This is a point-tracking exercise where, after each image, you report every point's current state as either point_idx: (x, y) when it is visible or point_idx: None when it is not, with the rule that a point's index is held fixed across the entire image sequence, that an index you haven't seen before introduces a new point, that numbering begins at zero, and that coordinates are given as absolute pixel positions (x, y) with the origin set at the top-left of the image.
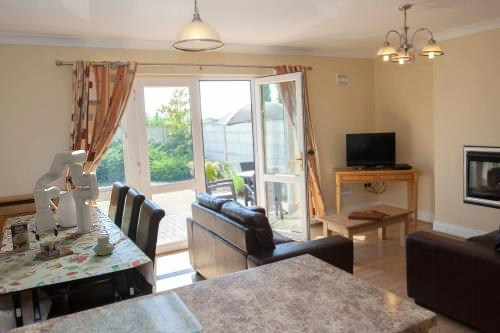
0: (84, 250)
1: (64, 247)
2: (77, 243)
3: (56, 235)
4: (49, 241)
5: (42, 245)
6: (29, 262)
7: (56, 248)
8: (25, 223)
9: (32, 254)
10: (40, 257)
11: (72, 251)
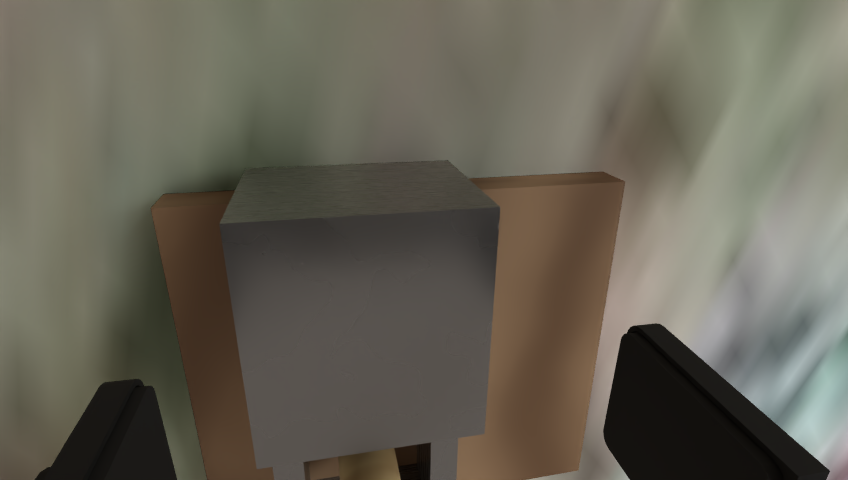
0: None
1: (597, 236)
2: (834, 33)
3: (627, 463)
4: (454, 222)
5: (250, 423)
6: (43, 435)
7: (445, 451)
8: None
9: (106, 14)
10: (200, 429)
11: (572, 467)
